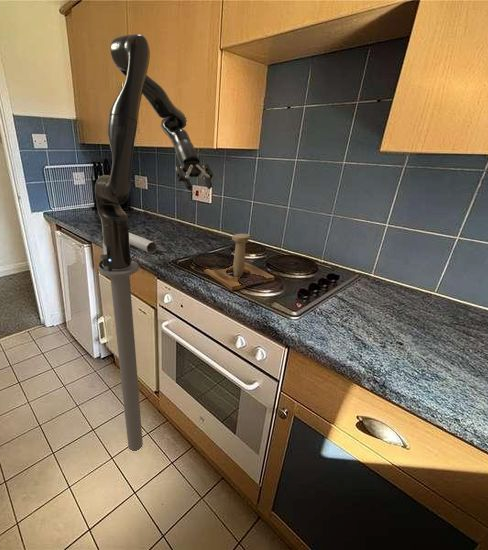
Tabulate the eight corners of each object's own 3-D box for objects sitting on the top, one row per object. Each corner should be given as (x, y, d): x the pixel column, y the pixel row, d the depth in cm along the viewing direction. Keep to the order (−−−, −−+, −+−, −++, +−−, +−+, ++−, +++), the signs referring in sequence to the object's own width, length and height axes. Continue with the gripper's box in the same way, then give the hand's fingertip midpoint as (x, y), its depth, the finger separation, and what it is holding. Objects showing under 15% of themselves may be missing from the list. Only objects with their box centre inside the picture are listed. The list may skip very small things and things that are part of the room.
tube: (116, 233, 144) (145, 245, 127) (125, 228, 147) (154, 239, 129) (120, 243, 147) (149, 256, 130) (129, 237, 150) (158, 249, 132)
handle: (226, 275, 109) (229, 235, 103) (239, 271, 112) (242, 232, 106) (236, 280, 105) (239, 239, 99) (249, 275, 109) (252, 235, 103)
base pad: (231, 290, 98) (232, 286, 97) (203, 271, 112) (203, 268, 111) (274, 280, 105) (274, 276, 105) (242, 263, 120) (243, 260, 119)
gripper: (172, 147, 111) (187, 182, 107) (205, 147, 118) (220, 180, 113) (167, 161, 118) (180, 195, 113) (199, 161, 124) (212, 193, 119)
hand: (200, 188), depth 113 cm, fingers open, 8 cm apart
